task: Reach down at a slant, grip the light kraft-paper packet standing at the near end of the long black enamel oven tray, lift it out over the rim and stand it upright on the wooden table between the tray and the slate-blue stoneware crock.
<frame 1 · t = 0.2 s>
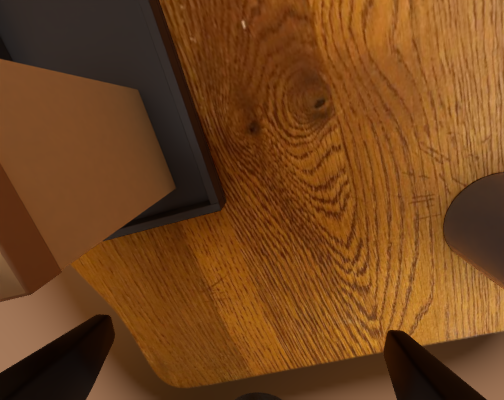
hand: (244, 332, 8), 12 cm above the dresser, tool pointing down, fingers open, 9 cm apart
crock: (495, 220, 18), on the dresser
packet: (126, 151, 18), point 1 cm above the dresser, touching oven tray
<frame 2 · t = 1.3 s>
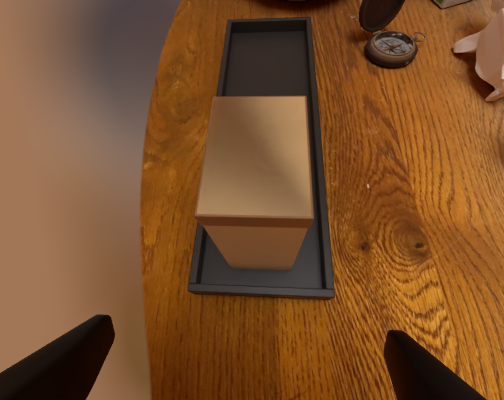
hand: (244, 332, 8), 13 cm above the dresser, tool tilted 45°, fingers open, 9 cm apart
compass: (390, 49, 34), on the dresser
penguin: (492, 65, 32), on the dresser
packet: (262, 230, 23), point 1 cm above the dresser, touching oven tray
oven tray: (265, 130, 29), on the dresser
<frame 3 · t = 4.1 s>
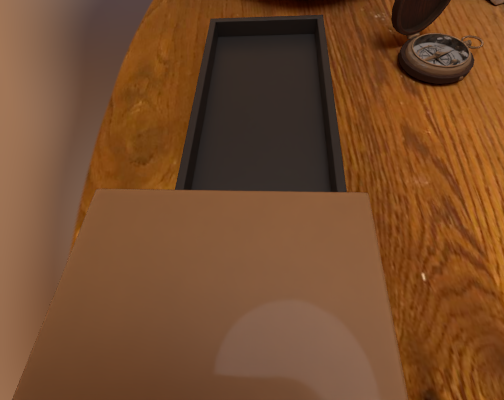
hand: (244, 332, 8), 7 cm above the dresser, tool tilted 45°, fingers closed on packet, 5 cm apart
compass: (432, 58, 25), on the dresser
packet: (252, 365, 14), point 1 cm above the dresser, touching gripper, oven tray
oven tray: (260, 178, 20), on the dresser
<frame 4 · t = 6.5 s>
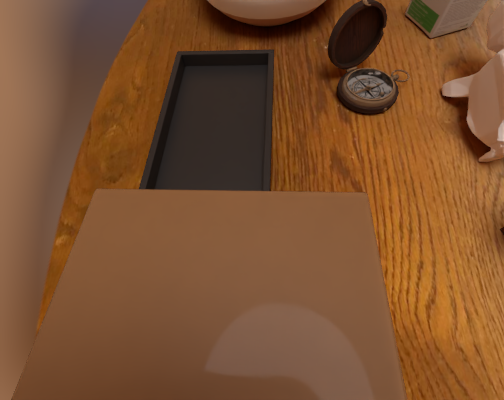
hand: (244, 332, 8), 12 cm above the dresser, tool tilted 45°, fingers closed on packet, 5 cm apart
small box: (434, 23, 33), on the dresser
bowl: (268, 4, 37), on the dresser
compass: (368, 88, 29), on the dresser
penguin: (488, 112, 26), on the dresser
packet: (252, 365, 14), point 5 cm above the dresser, touching gripper
oven tray: (209, 195, 24), on the dresser
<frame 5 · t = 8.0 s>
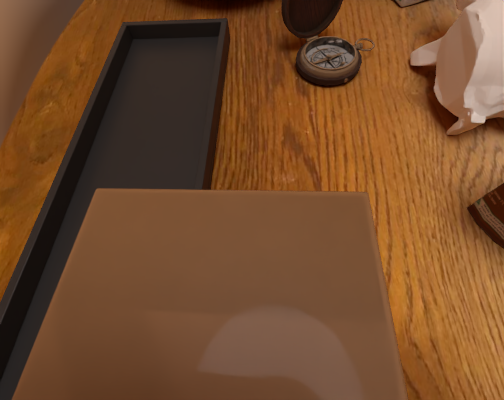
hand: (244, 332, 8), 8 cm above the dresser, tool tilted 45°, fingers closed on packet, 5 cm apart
compass: (330, 60, 26), on the dresser
penguin: (461, 82, 24), on the dresser
packet: (252, 364, 14), point 2 cm above the dresser, touching gripper
oven tray: (144, 175, 21), on the dresser
when the fingers open (7 cm above the dresser, at t = 8.9 s): packet stays where it is, on the dresser.
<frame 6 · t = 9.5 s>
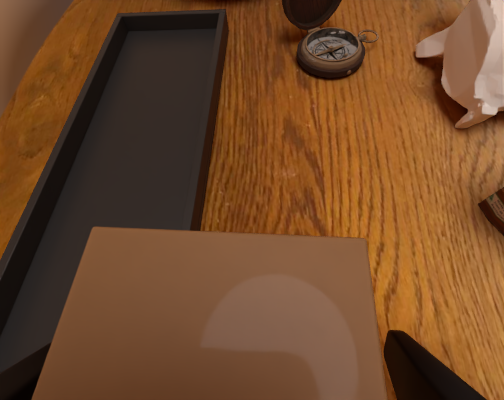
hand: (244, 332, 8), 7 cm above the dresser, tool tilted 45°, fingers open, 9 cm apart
compass: (332, 52, 25), on the dresser
penguin: (468, 74, 23), on the dresser
packet: (251, 365, 14), on the dresser
oven tray: (138, 170, 20), on the dresser
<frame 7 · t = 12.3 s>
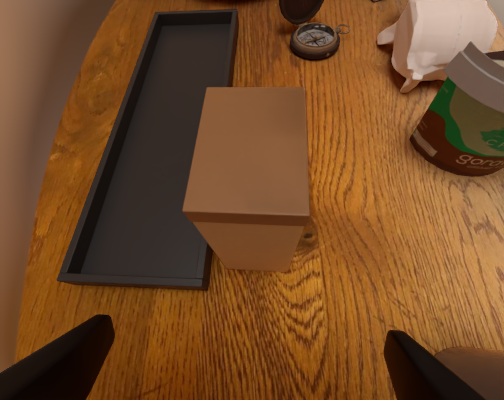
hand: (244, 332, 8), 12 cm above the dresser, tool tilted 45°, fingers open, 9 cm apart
compass: (317, 41, 34), on the dresser
penguin: (414, 57, 31), on the dresser
food container: (468, 160, 25), on the dresser
packet: (259, 229, 22), on the dresser
oven tray: (177, 121, 29), on the dresser
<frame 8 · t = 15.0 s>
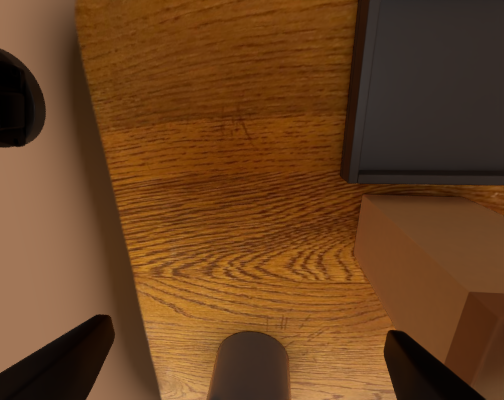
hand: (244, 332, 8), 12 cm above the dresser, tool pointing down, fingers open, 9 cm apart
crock: (252, 359, 25), on the dresser
packet: (405, 226, 19), on the dresser
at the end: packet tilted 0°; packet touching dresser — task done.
